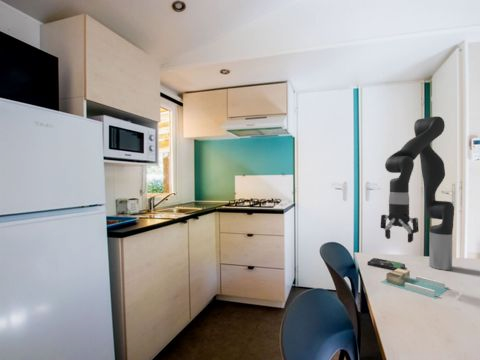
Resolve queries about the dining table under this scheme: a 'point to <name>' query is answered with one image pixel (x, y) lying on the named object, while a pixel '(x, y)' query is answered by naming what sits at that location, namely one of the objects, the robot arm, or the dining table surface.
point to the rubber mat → (413, 281)
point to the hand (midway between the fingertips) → (398, 240)
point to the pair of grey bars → (422, 289)
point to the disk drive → (385, 264)
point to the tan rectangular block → (397, 276)
